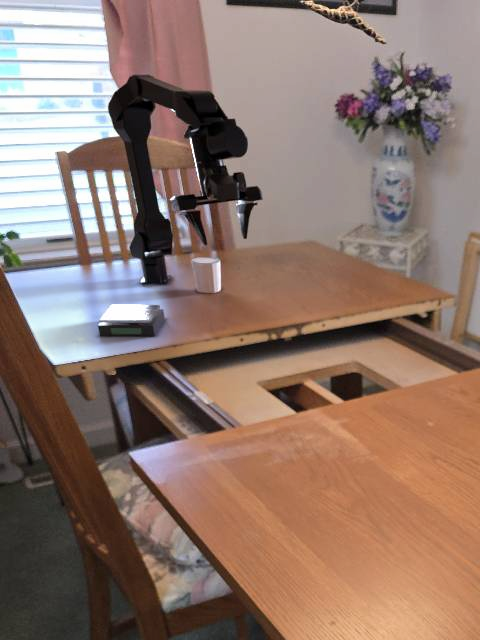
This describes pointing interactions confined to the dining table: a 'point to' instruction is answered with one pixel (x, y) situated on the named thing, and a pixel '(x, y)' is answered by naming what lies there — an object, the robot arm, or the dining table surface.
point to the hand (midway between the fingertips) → (225, 242)
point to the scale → (133, 327)
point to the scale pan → (130, 314)
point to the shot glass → (207, 274)
